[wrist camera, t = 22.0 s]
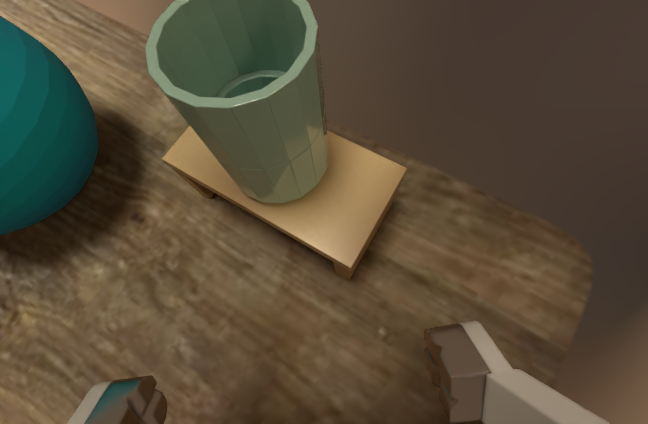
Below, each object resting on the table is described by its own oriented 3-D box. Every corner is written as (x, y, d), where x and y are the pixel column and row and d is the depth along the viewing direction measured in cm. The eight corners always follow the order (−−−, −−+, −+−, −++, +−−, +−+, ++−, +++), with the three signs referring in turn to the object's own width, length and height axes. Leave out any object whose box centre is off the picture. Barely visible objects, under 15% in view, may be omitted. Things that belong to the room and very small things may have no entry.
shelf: (393, 201, 24) (407, 168, 18) (349, 280, 22) (350, 268, 17) (248, 128, 27) (225, 82, 21) (199, 192, 25) (161, 158, 20)
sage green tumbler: (244, 219, 18) (155, 129, 9) (225, 136, 20) (138, 1, 11) (341, 189, 18) (339, 76, 10) (313, 111, 20) (291, -40, 12)
